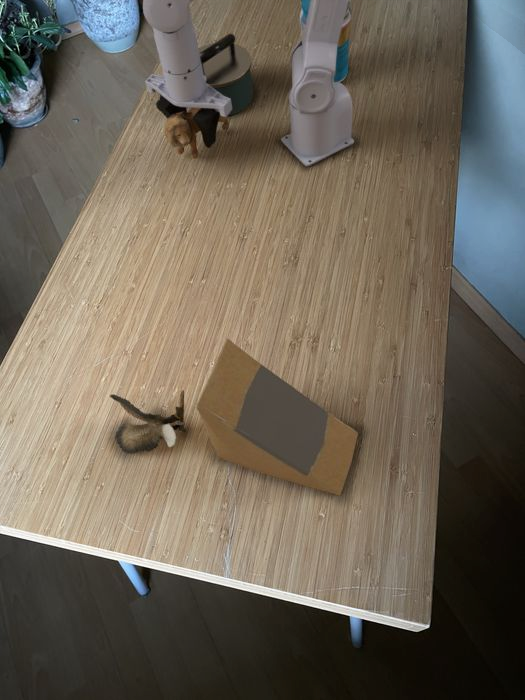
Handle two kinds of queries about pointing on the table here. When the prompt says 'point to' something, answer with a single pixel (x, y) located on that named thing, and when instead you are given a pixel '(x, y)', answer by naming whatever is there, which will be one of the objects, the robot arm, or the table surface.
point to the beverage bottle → (343, 40)
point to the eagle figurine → (148, 428)
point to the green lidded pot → (228, 71)
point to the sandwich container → (273, 425)
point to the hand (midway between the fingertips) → (197, 139)
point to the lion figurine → (185, 130)
